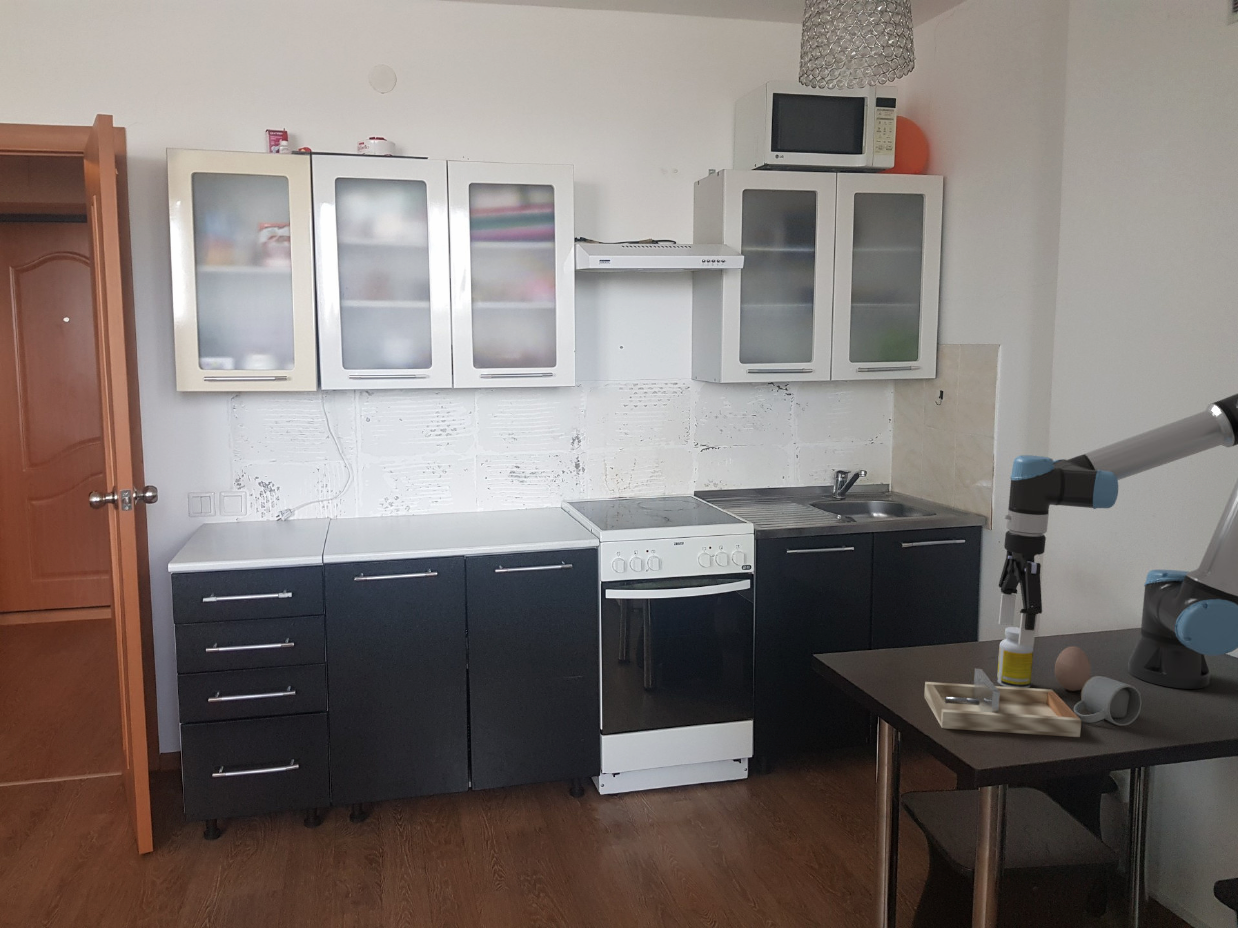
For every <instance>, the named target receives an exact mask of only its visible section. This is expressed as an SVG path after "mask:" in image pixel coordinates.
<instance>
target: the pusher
mask: <svg viewBox="0 0 1238 928" xmlns="http://www.w3.org/2000/svg"><path fill="white" fill-rule="evenodd" d="M973 675H974V676H973V677H974V678H973V685H974V688H973V698H958V697H945V703H950V704H966V705H978V706H979V708H980V709H981V711H982V712H993V713H998V708H999V696H1000V692H999V690H998V689H997V688H996V687H995V686H996V685H995V684H994V683H993V682H992V680H991V679H990V678H989V676H987V674H986V672H985V671H983V669H982V668H974V674H973Z"/></svg>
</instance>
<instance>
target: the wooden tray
mask: <svg viewBox="0 0 1238 928" xmlns="http://www.w3.org/2000/svg"><path fill="white" fill-rule="evenodd" d="M995 687H996V688H997V689H998V690H999V692H1000V696H999V708H998V713H993V712H982V711H981V709H980V708H979V706H978V705H966V704H950V703H945V697H958V698H973V688H974V684H966V683H949V682H935V681H934V682H933V681H925V683H924V693H923V694H924V696H923V697H924V700H925V701H926V702H927V704H928V706H929V708H930V709H931V712H932V713H933V714H934V717H935V718H936V720H937V721H938V724H939V725H940V727H941V728H942V729H949V730H950V729H951V730H966V731H967V730H968V731H980V732H981V731H982V732H997V733H999V732H1000V733H1013V734H1027V735H1040V736H1055V737H1056V736H1059V737H1069V738H1071V737H1073V738H1080V737H1081V730H1082V729H1081V728H1082V721H1081V720H1080V719H1079V717H1078V716H1077V715H1076V714H1075V713H1074V710H1072V709H1071V708H1070V707H1069V706H1068V705H1067V703H1065V701H1063V699H1062V698H1061V697H1059V695H1058V694H1057V693H1056V692H1055V691H1054V690H1053V689H1047V688H1032V687H1029V688H1018V687H1004V686H1002V685H1000V686H999V685H998V686H997V685H995Z"/></svg>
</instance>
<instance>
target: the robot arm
mask: <svg viewBox="0 0 1238 928" xmlns="http://www.w3.org/2000/svg"><path fill="white" fill-rule="evenodd" d="M1219 446H1222V447H1226V448H1232V447H1234V446H1238V393H1235V394H1232V395H1230V396H1227V397H1225V398H1223V399H1220V400H1218V401H1213V402H1212V403H1210V404H1208V405H1207V407H1206V409H1205V410H1203V411H1202V412H1199V413H1195V414H1193V415H1190V416H1187V417H1184V418H1181V419H1178V420H1176V421H1172V422H1170V423H1167V424H1165V425H1162V426H1159V427H1156V428H1154V429H1153V428H1152V429H1151V430H1148V431H1145V432H1142V433H1139V434H1136V435H1134V436H1131V437H1128V438H1126V439H1125V438H1124V439H1123V440H1119V441H1117V442H1114V443H1111V444H1108V445H1105V446H1102V447H1100V448H1096V449H1094V450H1091V451H1089V452H1086V453H1084V454H1079V455H1077V456H1074V457H1072V458H1069V459H1066V458H1065V459H1055V460H1053V458H1051V457H1048V456H1043V455H1042V456H1041V455H1033V454H1032V455H1029V454H1026V455H1025V454H1024V455H1018V456H1016V457H1015V458H1014V459H1013V463H1012V469H1011V474H1010V475H1011V476H1010V477H1009V478H1010V485H1009V496H1008V497H1009V499H1008V508H1007V509H1008V510H1007V514H1006V515H1004V519H1005V520H1006V528H1007V531H1006V532H1005V538H1004V545H1003V546H1004V549H1005V550H1006V555H1005V561H1004V563H1003V568H1002V571H1001V574H1000V578H999V582H998V588H1000V592H1001V594H1000V595H1001V596H1000V606H999V615H998V616H999V617H998V625H1003V626H1013V625H1014V617H1015V608H1016V597H1017V595H1018V594H1019V593H1018V589H1017V587H1018V586H1019V585H1020V594H1021V599H1022V606H1023V607H1022V608H1021V609H1020V611H1019V613H1020V614H1021V616H1020V623H1019V624H1020V626H1019V628H1020V632H1019V642H1018V644H1019V645H1031V646H1033V647H1034V645H1035V636H1036V627H1037V617H1038V615H1039V614H1042V613H1043V603H1042V587H1041V567H1042V565H1041V563H1040V562H1035V556H1037V555H1038V556H1040V555H1043V554H1044V553H1045V548H1046V539H1047V537H1046V536H1045V534H1046V533H1048V524H1049V511H1050V510H1049V509H1050V506H1061V507H1062V506H1063V507H1064V506H1065V507H1076V508H1087V509H1093V510H1096V509H1111V508H1112V507H1113V506H1114V505H1116V503H1117V499H1118V496H1119V495H1118V494H1119V481H1120V480H1122V479H1123V480H1124V479H1126V478H1128V477H1131V476H1134V475H1137V474H1140V473H1143V472H1147V471H1149V470H1151V469H1154V468H1158V467H1161V466H1163V465H1167V464H1170V463H1172V462H1176V461H1178V460H1181V459H1184V458H1187V457H1189V456H1193V455H1195V454H1198V453H1201V452H1205V451H1207V450H1209V449H1213V448H1216V447H1219ZM1143 587H1144V594H1143V603H1142V614H1141V615H1142V616H1141V625H1140V626H1141V627H1140V634H1139V635H1140V636H1139V639H1138V640H1137V642H1136V644H1135V647H1134V648H1133V651H1132V653H1131V655H1130V656H1129V658H1128V664H1127V671H1128V673H1129V674H1130V675H1131V676H1133V677H1135V678H1137V679H1140V680H1142V681H1145V682H1147V683H1151V684H1154V685H1158V686H1164V687H1170V688H1175V689H1185V690H1187V689H1188V690H1189V689H1190V690H1191V689H1194V690H1196V689H1204V688H1206V687H1208V686H1209V684H1210V679H1211V678H1210V676H1211V673H1210V669H1209V665H1208V660H1207V657H1206V656H1212V657H1213V656H1223V655H1226V654H1228V653H1229V654H1230V653H1232V652H1234V651H1235V650H1237V649H1238V478H1237V479H1236V482H1235V484H1234V486H1233V488H1232V491H1231V493H1230V495H1229V498H1228V500H1227V501H1226V505H1225V507H1224V509H1223V512H1222V513H1221V516H1220V518H1219V520H1218V523H1217V525H1216V527H1215V530H1214V532H1213V535H1212V537H1211V539H1210V541H1209V543H1208V545H1207V548H1206V551H1205V553H1204V555H1203V557H1202V559H1201V562H1200V563H1199V567H1197V569H1194V570H1192V571H1186V570H1177V569H1176V570H1174V569H1152V570H1149V571H1148V573H1147V574H1146V580H1145V583H1144V585H1143Z"/></svg>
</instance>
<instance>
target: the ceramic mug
mask: <svg viewBox="0 0 1238 928" xmlns="http://www.w3.org/2000/svg"><path fill="white" fill-rule="evenodd" d="M1080 698H1081V699H1080V701H1078V702H1076V704H1075V705H1074V706H1073V712H1074V713H1075V714H1076V715H1077V716H1078V717H1079V719H1080V720H1081V723H1096V722H1099V721H1102V720H1106V721H1108V722H1110V723H1111V724H1113V725H1116V726H1119V727H1120V726H1121V727H1123V726H1124V727H1125V726H1128V725H1130V724H1132V723H1133V722H1134V721H1135V720H1136V719H1137V718H1138V716H1139V715H1140V712H1141V709H1142V703H1143V702H1142V696H1141V692H1140V691H1139V689H1137V687H1135V686H1133V685H1131V684H1128V683H1125V682H1121V681H1119V680H1115V679H1113V678H1110V677H1107V676H1104V675H1103V676H1100V675H1097V676H1092V677H1090V678H1089V679H1088V680H1087V681H1086V682H1085V684H1084V686H1083V688H1081V692H1080ZM1084 708H1086V709H1087V710H1088V711H1089V712H1091V714H1081V713H1080V711H1081V710H1083V709H1084Z"/></svg>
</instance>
